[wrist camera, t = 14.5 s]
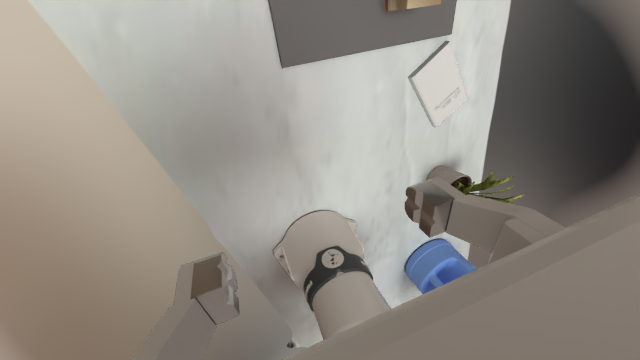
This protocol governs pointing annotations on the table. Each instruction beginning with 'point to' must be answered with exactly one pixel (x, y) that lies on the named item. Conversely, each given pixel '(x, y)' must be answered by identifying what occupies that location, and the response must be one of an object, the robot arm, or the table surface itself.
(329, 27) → the rubber mat
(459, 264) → the water jug
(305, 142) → the table surface
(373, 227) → the table surface
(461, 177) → the house plant
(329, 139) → the table surface
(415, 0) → the maple block
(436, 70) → the external hard drive
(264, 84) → the table surface
